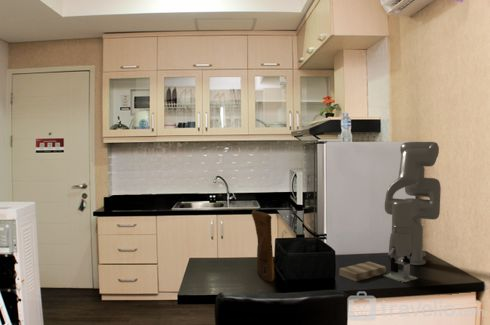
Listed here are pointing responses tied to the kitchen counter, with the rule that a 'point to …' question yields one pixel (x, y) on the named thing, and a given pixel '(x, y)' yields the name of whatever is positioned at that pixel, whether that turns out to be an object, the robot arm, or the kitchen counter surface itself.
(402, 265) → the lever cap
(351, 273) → the tan flat block
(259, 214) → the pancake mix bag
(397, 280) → the sage mat
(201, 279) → the kitchen counter surface
